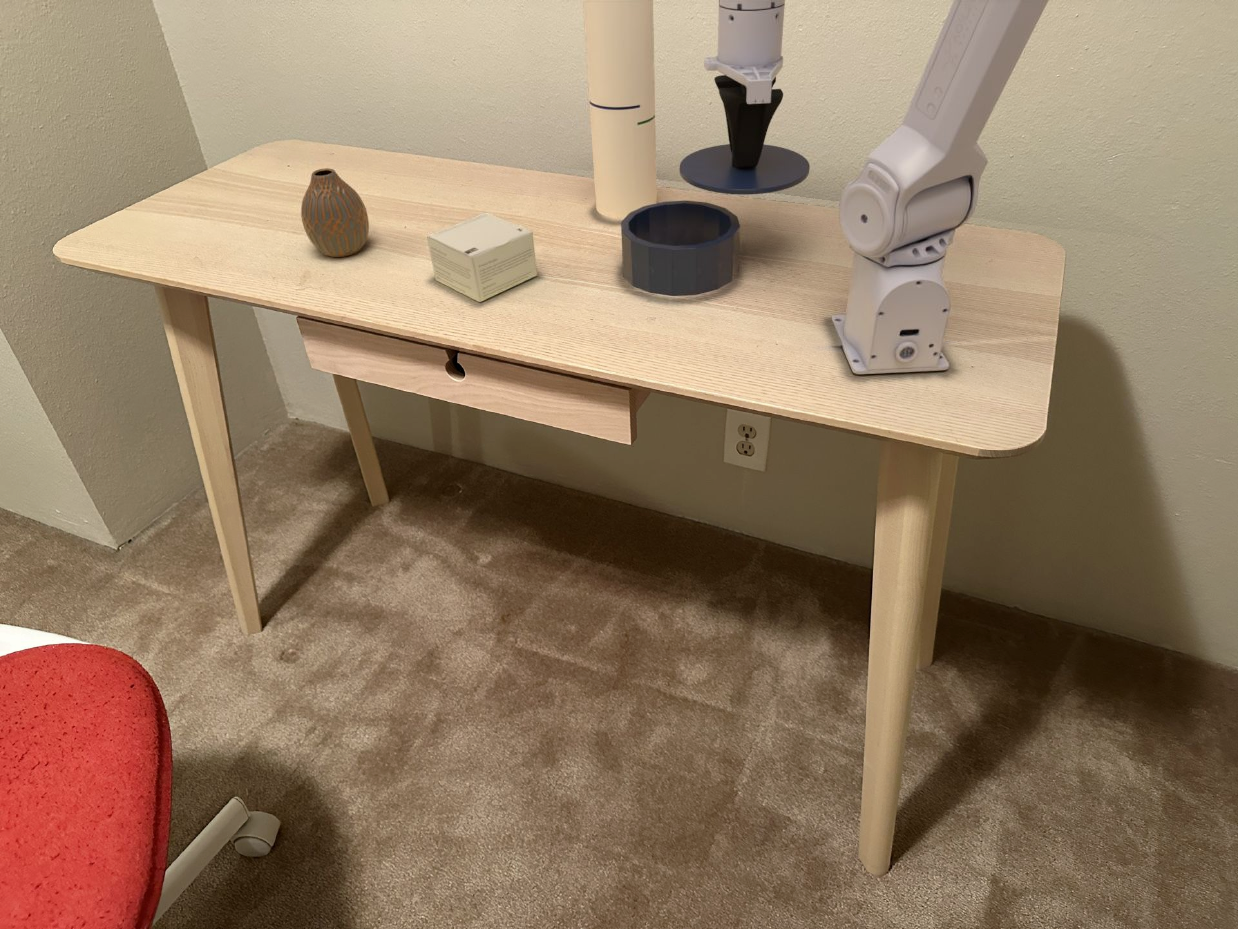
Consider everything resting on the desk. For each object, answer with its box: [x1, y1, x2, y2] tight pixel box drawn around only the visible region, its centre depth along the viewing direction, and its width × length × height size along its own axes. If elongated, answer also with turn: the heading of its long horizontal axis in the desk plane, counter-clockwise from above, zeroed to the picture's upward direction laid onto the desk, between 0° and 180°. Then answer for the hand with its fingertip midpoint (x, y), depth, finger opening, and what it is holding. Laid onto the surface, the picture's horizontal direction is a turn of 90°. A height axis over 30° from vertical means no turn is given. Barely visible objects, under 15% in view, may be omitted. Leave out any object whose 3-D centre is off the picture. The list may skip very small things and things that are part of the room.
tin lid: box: [679, 143, 811, 196], centre depth 83 cm, size 13×13×5 cm
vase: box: [300, 167, 370, 258], centre depth 93 cm, size 7×7×9 cm
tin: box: [620, 200, 741, 297], centre depth 86 cm, size 12×12×5 cm
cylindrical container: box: [582, 0, 658, 219], centre depth 93 cm, size 7×7×25 cm
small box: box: [426, 211, 538, 303], centre depth 87 cm, size 8×8×5 cm
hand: (744, 159), depth 83 cm, fingers closed on tin lid, 2 cm apart
